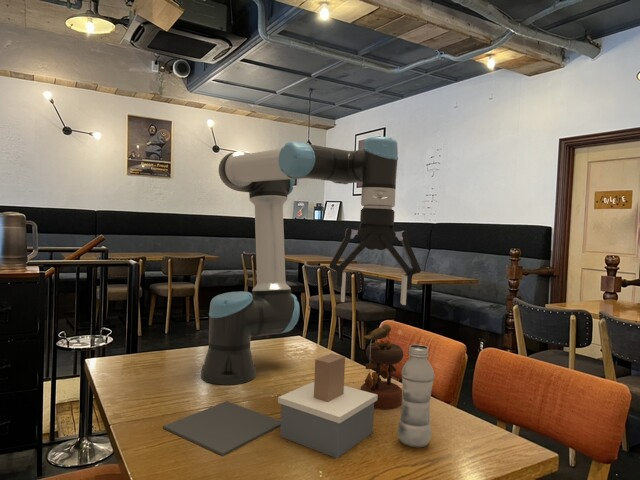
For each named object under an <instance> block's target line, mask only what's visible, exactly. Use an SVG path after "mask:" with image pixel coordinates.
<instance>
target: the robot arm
mask: <svg viewBox="0 0 640 480" xmlns="http://www.w3.org/2000/svg"><path fill="white" fill-rule="evenodd" d="M398 155H399V152H398V142H397V140H396V139H395V138H392V137H387V136H371V137H367V138H366V139H365V140H364V142H363V147H362V149H359V150H345V149H340V148H333V147H328V146H321V145H316V144H311V143H307V142H305V141H288V142H286V143H285V144H284V145H283V146H282V147H281V148H276V149H275V148H274V149H269V150H262V151H257V152H252V153H251V152H245V151H234V152H230V153H227V154H226V155H224V156H223V157H222V159H220V163H219V164H218V176H219V178H220V180H221V182H222V184H224V185H225V186H226V187H228V189H230V190H233V191H237V192H241V193H248V195H249V202H251V203H252V204H253V205H254V223H255V224H254V227H255V257H256V258H255V259H256V260H255V262H256V285H255V286H254V287H253V288H252V290H251V291H252V292H249V291H242V290H241V291H231V292H230V291H229V292H224V293H221V294H217V295H216V296H214V297H213V298H212V299H211V301H210V304H209V312H208V319H209V320H208V324H209V325H208V349H207V353H206V356H205V359H204V362H203V364H202V366H201V370H200V373H201V374H200V377H201V380H202V381H204V382H207V383H209V384H213V385H225V386H226V385H228V386H229V385H230V386H231V385H238V384H239V385H240V384H244V383H247V382H250V381H252V380H254V379H255V377H256V373H257V372H256V370H257V369H256V368H257V367H256V365H255V364H254V359H253V354H252V351H251V338H252V337H253V338H254V337H261V336H268V335H269V336H270V335H280V334H284V333H288V332H291V330H292V331H293V329H294V328H295V326H296V325H297V323H298V322H299V318H300V307H301V306H300V303H299V301H298V297H297V296H296V295H295V294H293V293H292V289H291V286H289V285H288V284H287V283H286V282H287V281H286V264H285V263H286V257H285V232H284V230H285V229H284V204H285V203H286V202H287V201H288V196H289V195H290V194H292V192H293V190H294V186H295V181H296V180H301V179H309V180H321V181H329V182H332V183H334V184H338V185H339V184H340V185H341V184H342V185H348V184H354V183H355V184H357V183H361V196H360V205H361V206H363V208H361V209H360V218H359V227H358V229H352V228H350V227H349V228H346V229H345V232H344V234H345V235H344V237H343V240H342V242H341V243H340V245H339V247H338V249H337V250H336V252H335V254H334V256H333V257H332V259H331V261H330V263H329V269H331V270H333V271H336V286H337V287H340V302H341V303H345V301H346V284H347V283H346V282H347V281H346V280H347V279H346V278H347V272H346V271H344V270H345V269H346V268H347V267H348V266H349V265H350V264H351V263H352V262H353V261H354V260H355V259H356V258H357V256H359V254H360V253H361V252H362V251H363V250H364V249H365V248H366V249H368V250H372V251H373V250H378V251H384V250H385V249H387V251H388V252H389V253H390V255H391V256H392V258H393V259H394V260H395V261H396V263H397V264H398V265H399V267H400V268H401V269H402V270H403V271H404V273H405V274H402V273H401V287H400V304H401V305H402V306H406V305H407V290H408V291H411V289H412V285H413V283H412V282H413V276H414V275H416V274H420V273H421V272H422V270H421V266H420V265H419V262H418V259H417V258H416V255H415V253H414V251H413V248H412V247H411V244H410V241H409V233H408V230H401V231H395V228H394V227H395V213H396V212H395V211H394V209H393V208H395V206H396V185H397V169H398V160H399V157H398ZM355 236H357V237H358V238H359V240H360V242H359V243H358V245H357V246H356V247H355V248H354V249H353V250H352V251H351V252H349V253H350V254H348V255H347V257H345V258H344V260H343V261H342V262H341V263H340V264H338V262H339V261H340V259H341V257H342V256H343V253H344V252H345V250H346V248H347V247H348V245H349V243H350V241H351V240H352V239H354V238H355ZM395 238H396V239H398V241H400V242H401V244H402V247H403V249H404V252H405V254H406V256H407V259H408V261H409V264H410V266H411V267H412V268H411V267H410V266H409V265H408V264H407V263H406V261H405V260H404V259H403V258H402V256H401V255H400V253H399V252H398V251H397V249H396V248H395V247H394V245H393V244H392V242H393V241H394V239H395Z"/></svg>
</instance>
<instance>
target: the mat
mask: <svg viewBox="0 0 640 480" xmlns="http://www.w3.org/2000/svg"><path fill="white" fill-rule="evenodd" d="M280 426H281V419H277V418H275V417H272V416H269V415H266V414H263V413H262V412H261V413H260V412H259V411H255V410H252V409H250V408H246V407H244V406H242V405H238V404H237V403H233V402H230V401H228V400H226V401H223V402H220V403H218V404H216V405H213V406H210V407H207V408H206V409H203V410H200V411H198V412H195V413H192V414H191V415H187V416H185V417H183V418H180V419H178V420H174V421H172V422H170V423H167V424H164V425H162V430H166V431H167V432H169V433H173V434H175V436H176V435H177V436H178V437H180V438H183V439H185V440H187V441H189V442H192V443H194V444H196V445H198V446H200V447H203V448H205V449H207V450H209V451H211V452H213V453H215V454H217V455H220V456H222V457H224V456H225V455H228V454H230V453H231V452H232V453H233V450H234V451H236V450H237V449H239V448H241V447H243V446H245V445H246V444H249V443H251V442H253V441H255V440H256V439H258V438H261V437H262V436H265V435H267V434H268V433H270V432H272V431H274V430H276V429H278V428H280Z"/></svg>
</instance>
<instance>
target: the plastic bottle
mask: <svg viewBox="0 0 640 480" xmlns="http://www.w3.org/2000/svg"><path fill="white" fill-rule="evenodd" d="M408 351H409V352H408V356H409V358H408V359H407V361H405V363H404V364H403V366H402V369H401V385H402V405H401V406H402V407H401V413H400V419H399V421H398V427H397V434H398V435H397V436H398V439H399V440H400V442H401V443H402V444H403V445H405V446H408V447H411V448H423V447H426V446H427V445H428V444H429V443H430V441H431V437H432V427H431V418H430V417H431V416H430V412H431V411H430V410H431V409H430V405H431V396H432V390H433V385H434V380H435V371H434V368H433V366H432V365H431V363H430V361H429V360H428V358H429V347H428V346H427V345H422V344H411V345H409V350H408Z"/></svg>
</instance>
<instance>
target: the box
mask: <svg viewBox="0 0 640 480" xmlns="http://www.w3.org/2000/svg"><path fill="white" fill-rule="evenodd" d="M280 405H281V406H280V408H281V409H280V421H281V426H280V427H279V428H280V432H279V437H281V438H283V439H286V440H289V441H291V442H294V443H297V444H299V445H301V446H304V447H307V448H309V449H311V450H315V451H317V452H319V453H321V454H325V455H328V456H330V457H333V458H335V459H339V458H340V457H341V456H342V455H344V454H345V453H347V452H348V451H349V450H351V449H352V448H353V447H355V446H356V445H358V444H359V443H361V442H362V441H364V440H365V439H366V438H367V437H369V436H370V435H371V434H373V433H374V431H373V430H374V413H375V412H374V411H375V408H374V403H372V404H370V405H369V406H367V407H366V408H364V409H362V410H361V411H359V412H357V413H356V414H354V415H352V416H351V417H349V418H348V419H346V420H344V421H343V422H341V423H337V422H334V421H331V420H328V419H325V418H322V417H319V416H316V415H313V414H310V413H307V412H304V411H301V410H298V409H295V408H292V407H289V406H286V405H283V404H280Z"/></svg>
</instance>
